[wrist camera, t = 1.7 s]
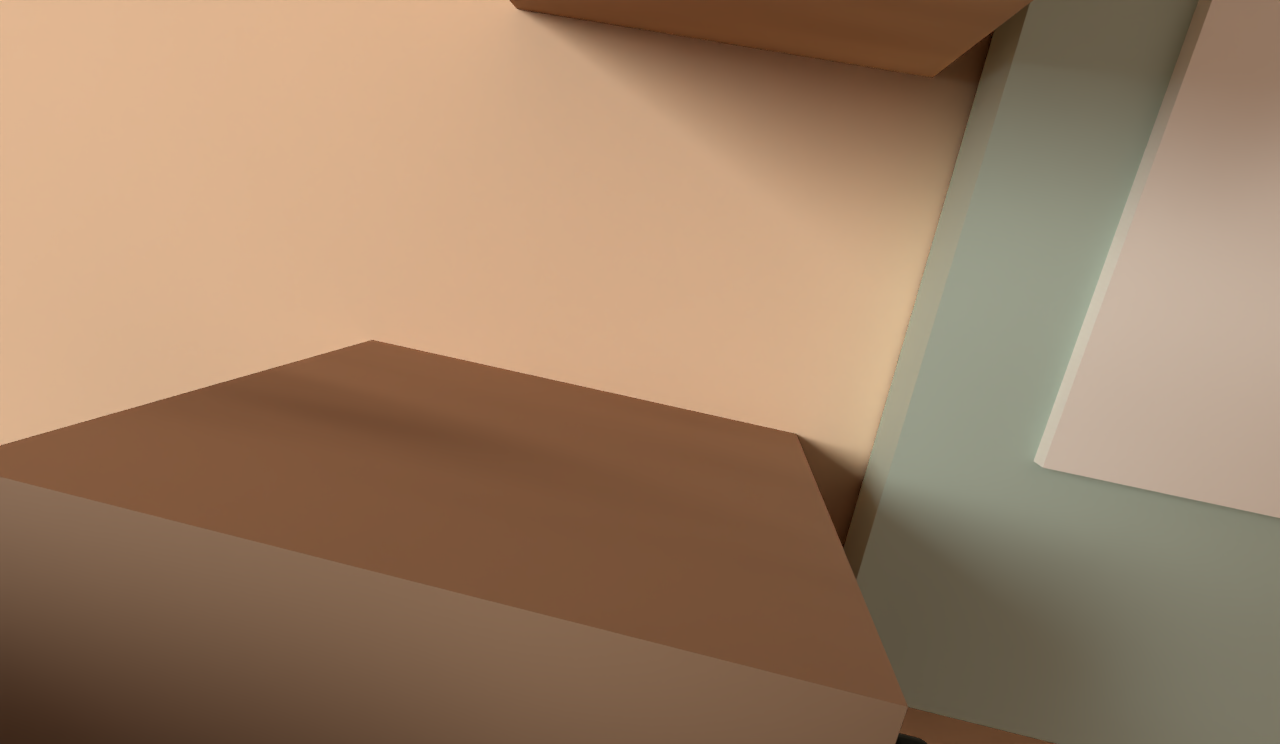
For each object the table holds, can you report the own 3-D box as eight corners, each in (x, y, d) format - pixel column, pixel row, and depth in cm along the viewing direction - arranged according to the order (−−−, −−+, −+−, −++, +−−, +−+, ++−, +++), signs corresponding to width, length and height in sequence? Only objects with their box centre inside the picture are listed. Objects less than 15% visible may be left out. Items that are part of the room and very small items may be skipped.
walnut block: (700, 786, 10) (682, 1349, 5) (344, 690, 10) (-8, 1110, 5) (795, 431, 8) (908, 707, 3) (377, 338, 9) (-60, 461, 4)
